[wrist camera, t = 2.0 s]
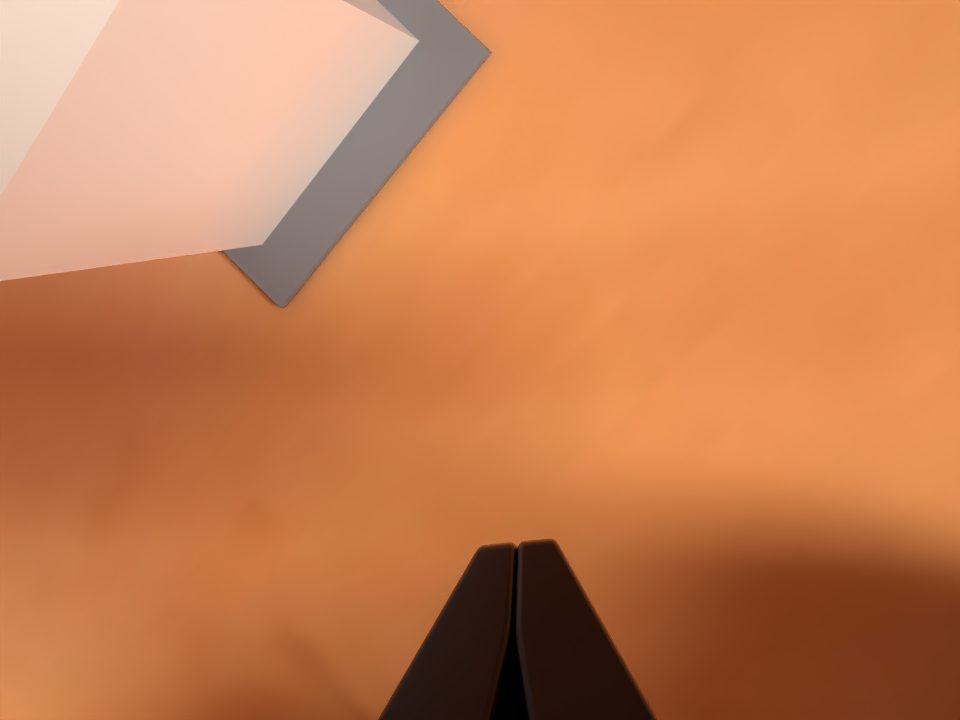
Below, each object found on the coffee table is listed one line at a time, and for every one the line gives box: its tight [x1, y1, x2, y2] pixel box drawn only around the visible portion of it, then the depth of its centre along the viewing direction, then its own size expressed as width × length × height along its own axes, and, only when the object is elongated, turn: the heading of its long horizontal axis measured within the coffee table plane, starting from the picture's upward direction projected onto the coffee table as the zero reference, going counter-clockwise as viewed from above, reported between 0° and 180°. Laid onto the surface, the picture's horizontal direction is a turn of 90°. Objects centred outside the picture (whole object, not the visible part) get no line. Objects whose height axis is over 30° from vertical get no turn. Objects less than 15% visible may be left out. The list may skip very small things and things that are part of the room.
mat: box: [222, 0, 492, 308], centre depth 21 cm, size 14×9×1 cm, turn 47°
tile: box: [0, 0, 419, 281], centre depth 16 cm, size 2×7×10 cm, turn 137°
